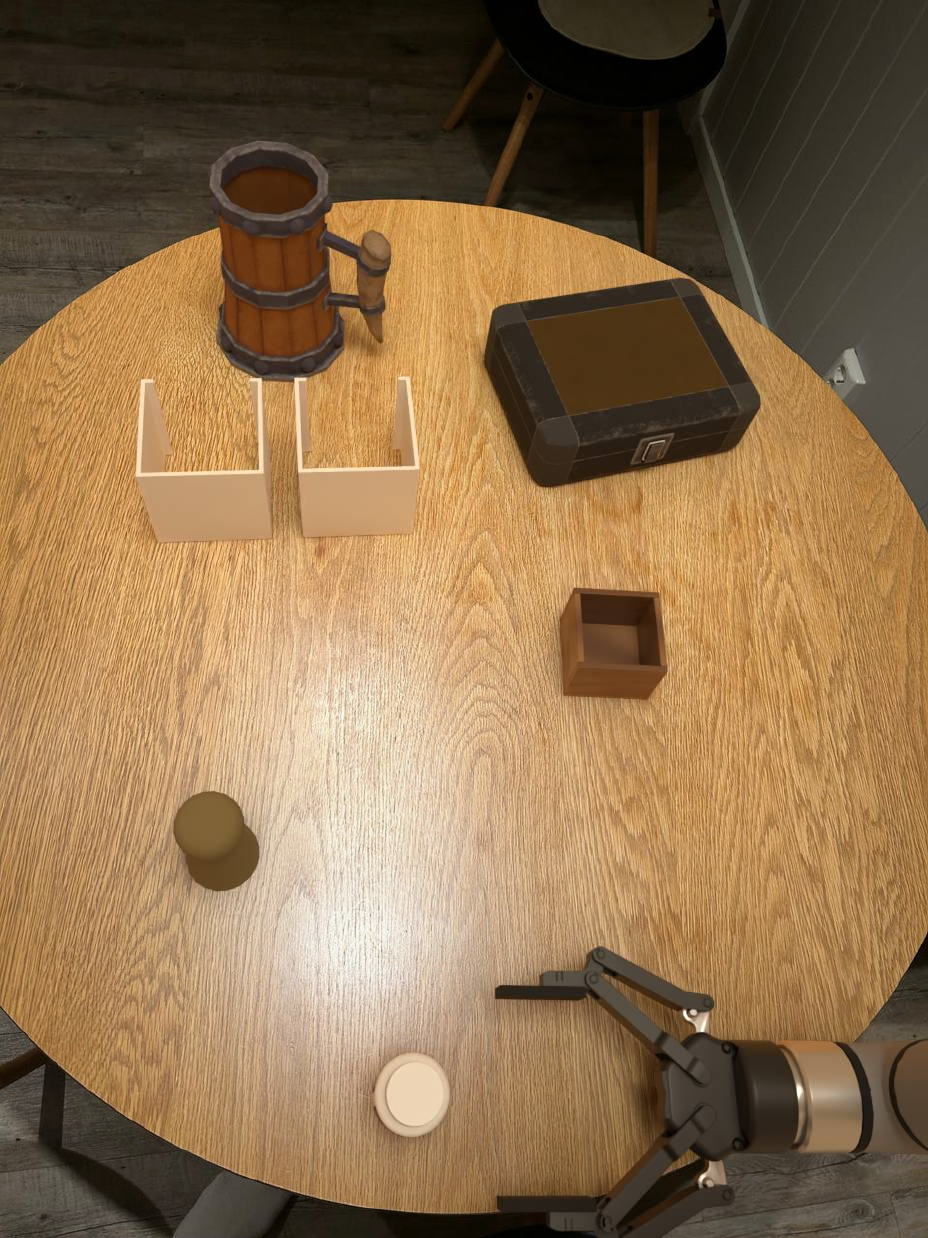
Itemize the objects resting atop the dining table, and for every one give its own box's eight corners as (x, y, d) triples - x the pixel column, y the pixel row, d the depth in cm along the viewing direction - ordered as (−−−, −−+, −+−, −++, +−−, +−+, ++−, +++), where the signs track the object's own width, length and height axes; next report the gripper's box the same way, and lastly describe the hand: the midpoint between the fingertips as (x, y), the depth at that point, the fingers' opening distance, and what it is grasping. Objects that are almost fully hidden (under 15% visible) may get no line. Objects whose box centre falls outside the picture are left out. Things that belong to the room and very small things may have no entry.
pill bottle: (446, 1128, 71) (460, 1131, 63) (376, 1141, 71) (380, 1146, 62) (436, 1050, 74) (448, 1044, 65) (367, 1063, 73) (370, 1057, 64)
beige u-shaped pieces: (157, 542, 92) (135, 476, 82) (161, 451, 97) (140, 379, 87) (412, 533, 95) (419, 469, 86) (403, 446, 100) (409, 376, 91)
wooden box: (647, 699, 90) (668, 672, 84) (563, 695, 89) (578, 667, 83) (640, 623, 94) (659, 592, 88) (559, 618, 93) (573, 587, 87)
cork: (172, 874, 78) (148, 841, 68) (208, 808, 80) (189, 767, 71) (238, 903, 77) (223, 874, 67) (272, 836, 80) (262, 799, 70)
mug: (402, 315, 109) (413, 162, 91) (368, 408, 102) (373, 263, 84) (241, 273, 109) (221, 113, 91) (196, 363, 102) (166, 209, 85)
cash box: (537, 496, 99) (551, 451, 92) (478, 353, 108) (487, 303, 101) (744, 454, 105) (772, 409, 98) (673, 321, 113) (694, 271, 107)
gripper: (785, 1291, 67) (492, 1294, 65) (740, 929, 79) (490, 922, 77) (833, 1312, 61) (509, 1316, 59) (777, 913, 72) (503, 905, 70)
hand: (497, 1093), depth 68 cm, fingers open, 13 cm apart
